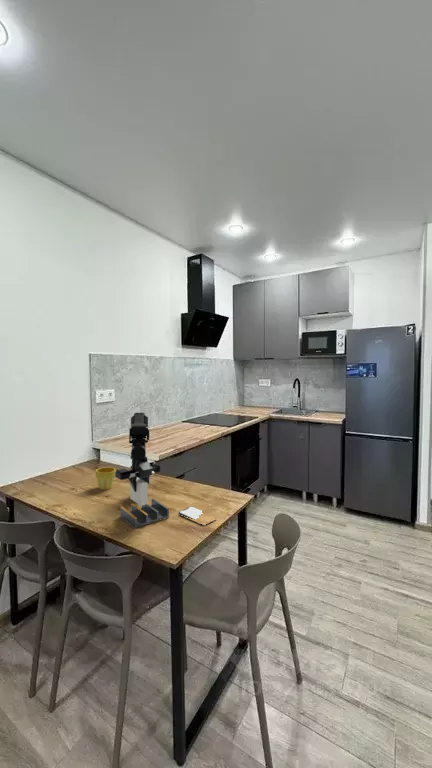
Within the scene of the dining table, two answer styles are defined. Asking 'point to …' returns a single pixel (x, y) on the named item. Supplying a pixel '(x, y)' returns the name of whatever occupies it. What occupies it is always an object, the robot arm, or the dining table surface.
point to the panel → (140, 492)
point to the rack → (144, 513)
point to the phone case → (191, 512)
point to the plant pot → (105, 477)
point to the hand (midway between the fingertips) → (138, 490)
